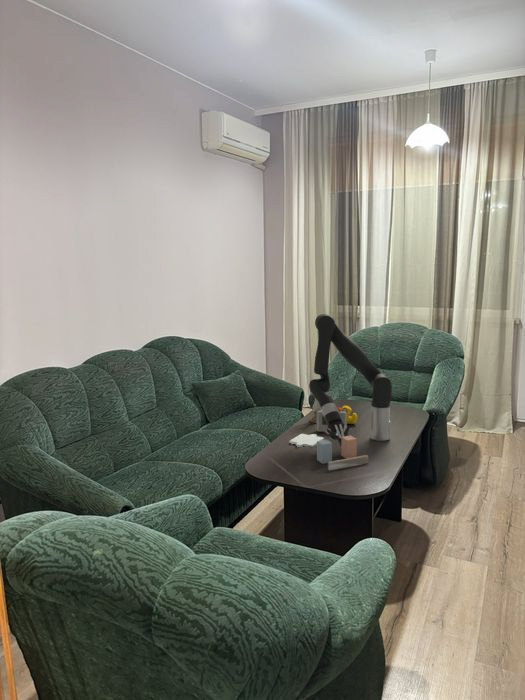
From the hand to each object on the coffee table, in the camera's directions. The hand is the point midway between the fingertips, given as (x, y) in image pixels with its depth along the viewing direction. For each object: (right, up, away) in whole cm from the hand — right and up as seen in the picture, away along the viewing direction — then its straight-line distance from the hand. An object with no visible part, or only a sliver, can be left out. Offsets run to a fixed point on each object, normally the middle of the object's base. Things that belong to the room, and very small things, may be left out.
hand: (344, 446), depth 252 cm
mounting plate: (-16, -2, +19) cm, 25 cm away
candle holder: (-7, +5, +53) cm, 54 cm away
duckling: (+9, +4, +48) cm, 49 cm away
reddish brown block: (+2, -4, -3) cm, 5 cm away
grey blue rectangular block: (-10, -5, -8) cm, 14 cm away
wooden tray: (-3, -6, -8) cm, 11 cm away
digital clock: (-1, +2, +36) cm, 36 cm away
